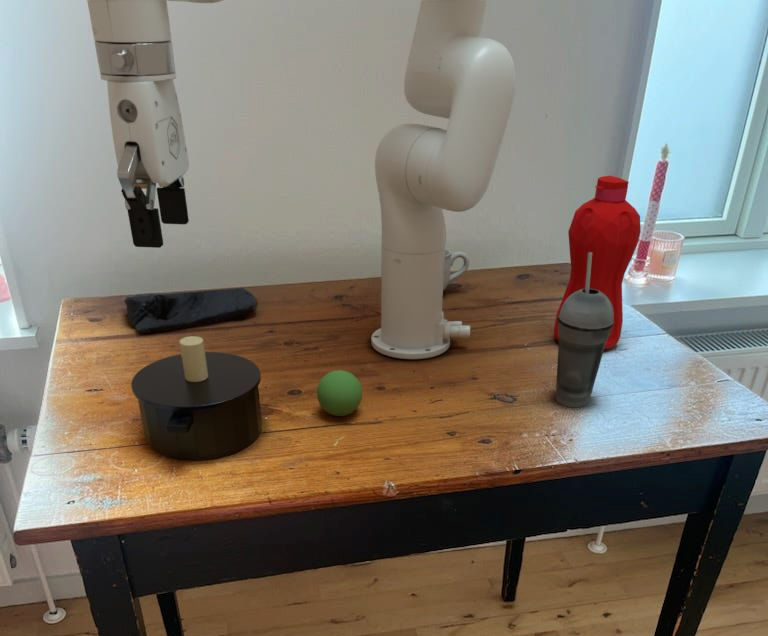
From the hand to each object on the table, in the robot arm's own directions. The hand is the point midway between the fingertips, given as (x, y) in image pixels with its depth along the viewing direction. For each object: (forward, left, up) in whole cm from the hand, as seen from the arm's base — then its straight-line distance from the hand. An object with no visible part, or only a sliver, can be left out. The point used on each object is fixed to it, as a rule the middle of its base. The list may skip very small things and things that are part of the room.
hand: (162, 234), depth 87 cm
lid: (-3, +4, -17) cm, 17 cm away
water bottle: (-58, -29, -24) cm, 69 cm away
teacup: (-32, -50, -24) cm, 64 cm away
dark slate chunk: (+9, -37, -24) cm, 45 cm away
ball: (-20, -2, -21) cm, 29 cm away
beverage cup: (-52, -8, -24) cm, 58 cm away
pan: (-3, +4, -24) cm, 24 cm away
